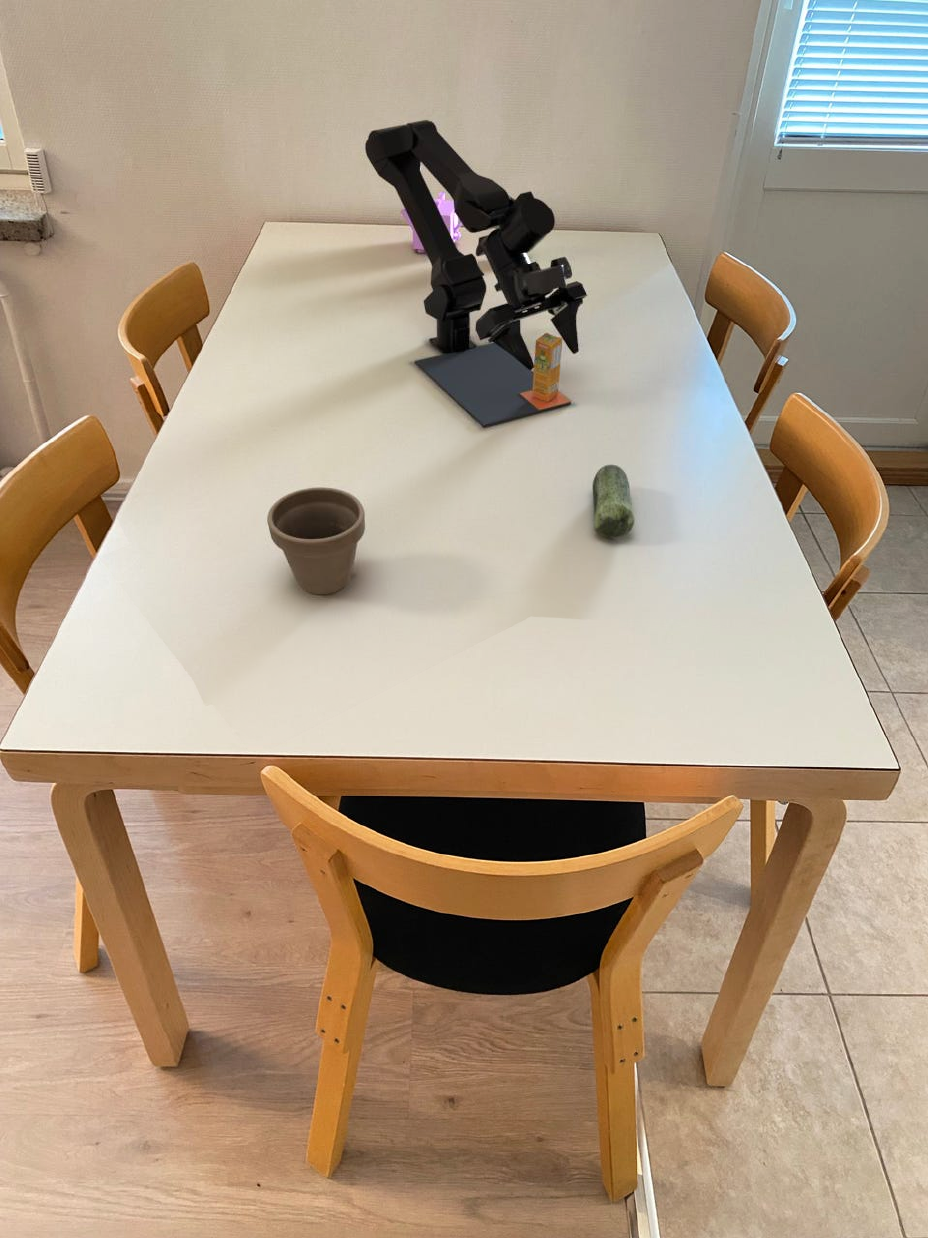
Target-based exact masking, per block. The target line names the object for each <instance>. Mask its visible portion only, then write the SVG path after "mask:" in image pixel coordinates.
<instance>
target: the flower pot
mask: <svg viewBox="0 0 928 1238" xmlns="http://www.w3.org/2000/svg"><path fill="white" fill-rule="evenodd" d="M365 514H366V512H365V509H364V506H363V504H362V503H361V501H360V500H359V499H358V498H357V497H356V496H355V495H353V494H351V493H350V492H348V491H345V490H342V489H338V488H334V487H323V486H321V487H307V488H304V489H299V490H296V491H293V492H290V493H287V494H286V495H284V496H283V497H281V498H279V499H278V500H277V501H276V502H274V503H273V505H272V506H271V507H270V509H268V512H267V519H266V520H267V521H266V522H267V525H268V531H269V534H270V538H271V540H272V542H273V544H274V545H276V546H277V547H278V548H279V549H280V550H282V552H283V554H284V557H285V559H286V561H287V563H288V565H289V568H290V570H291V572H292V575H293V576H294V578H295V580H296V582H297V584H298V586H299V587H300V588H301V589H303V590H304V591H306V592H308V593H310V594H315V595H328V594H329V595H330V594H333V593H337V592H338V591H340V590H342V589H344V587H346V586H347V585H348V583H349V582H350V580H351V576H352V572H353V568H354V564H355V559H356V553H357V549H358V543H359V541H361V539H362V538H363V536H364V534H365V531H366V519H365V517H366V515H365Z"/></svg>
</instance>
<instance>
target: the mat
mask: <svg viewBox="0 0 928 1238" xmlns="http://www.w3.org/2000/svg"><path fill="white" fill-rule="evenodd" d="M414 365H416V366H417V367H418V369H420V370H421V371H422V372H423V373H424V374H425V375H427V377H428V378H429V379H431V380H432V381H433V382H434V383H435V384H436V385H437V386H438V387H439V388H440V389H441V390H443V392H445V393H446V394H447V395H448V397H450V398H452V400H453V401H454V402H455V403H457V405H459V406H460V407H461V408H462V409H463V411H465V412H466V413H468V415H469V416H470V417H471V418H473V419H474V420H475V421H476V422H477V423H478V424H479V425H480V426H481V427H482V428H487V427H492V426H495V425H499V424H504V423H507V422H511V421H515V420H519V419H522V418H526V417H529V416H533V415H536V414H537V415H538V414H540V413H544V412H548V411H552V410H556V409H559V408H564V407H567V406H570V405H571V404H572V400H570V399H569V398H567V396H565V395H564V394H563V393H561V392H560V390H558V395H557V396H556V397H555V398H553V399H552V400H551V401H549V402H545V401H542V400H539V399H537V398H534V397H532V392H533V376H534V370H528V369H527V368H526V367H525V366H524V365H523V364H521V363H520V362H519V361H518V360H517V359H515V358H514V357H513V356H512V355H511V354H509V353H508V352H507V351H505V350H504V349H502V348H501V347H499V346H498V345H497V344H495V343H494V342H492V343H487V344H483V345H477V347H476V348H471V349H468V350H464V351H459V352H454V353H450V354H442V353H441V354H438V355H434V356H429V357H426V358H421V359H416V360H414Z"/></svg>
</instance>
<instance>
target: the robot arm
mask: <svg viewBox="0 0 928 1238" xmlns="http://www.w3.org/2000/svg"><path fill="white" fill-rule="evenodd" d="M364 145H365V147H364V150H365V154H366V157H367V159H368V160H369V162H370V164H371V165H372V167H373V169H374V170H375V172H376V174H377V175H378V177H379V178H381V179H382V180H384V181H385V182H387V183H388V184H389V185H390V186H392V187H393V188H394V189H395V192H396V193H397V195H398V198H399V199H400V202H401V204H402V206H403V209H405V210H406V212H407V214H408V216H409V218H410V220H411V223H412V225H413V227H414V229H415V231H416V233H417V235H418V237H419V239H420V241H421V243H422V246H423V248H424V250H425V253H426V256H427V258H428V260H429V263H430V265H431V273H430V286H431V287H430V288H431V289H432V291H431V292H430V293H429V295H427V296H426V297H425V298H424V299H423V306H424V311H425V314H426V315H428V316H430V317H432V318H433V319H435V320H436V336H435V337H430V338H428V343H429V344H430V345H431V346H433V347H434V348H435V349H436V350H437V351H439V352H440V353H441V355H442V354H450V353H454V352H459V351H464V350H468V349H471V348H476V347H477V346H478V345H477V344H476V343H475V342H474V341H472V340H471V313H473V312H477V311H481V309H482V306H483V303H484V300H485V296H486V294H487V282H486V280H485V278H484V276H485V272H484V271H482V269H481V268H480V266H479V263H478V260H477V258H476V257H481V256H485V257H486V259H487V261H488V263H489V265H490V268H491V270H492V272H493V275H494V277H495V279H496V281H497V283H496V284H494V285H493V287H494V289H495V292H496V293H498V292H502V295H503V296H504V298H505V301H506V303H503V304H500V305H497V306H493V307H490V308H488V309H487V310H486V311H485V312H484V313H483V314H482V315H481V316H480V317H479V318H478V319H477V320H476V321H475V332H476V334H477V337H478V338H479V339H478V340H480V341H483V340H485V339H487V341H488V344H490V343H495V344H497V345H498V346H499V347H501V348H502V349H504V350H505V351H507V352H508V353H509V354H511V355H512V356H513V357H514V358H515V359H517V360H518V361H519V362H520V363H521V364H523V365H524V366H525V367H526V368H527V369H528V370H531V371H533V370H534V360H533V358H532V356H531V353H530V351H529V349H528V346H527V345H526V342H525V340H524V338H523V335H522V333H521V331H522V330H521V320H523V319H526V318H529V317H532V316H535V315H538V314H541V313H545V312H548V314H550V315H552V316H553V317H551V318H550V322H551V323H552V325H553V326H554V328H555V330H556V331H557V332H558V334H559V336H560V338H562V341H563V342H564V344H565V345H566V346H567V348H568V349H569V350H570V352H571V353H572V354H573V355H576V354H578V353H579V351H580V350H579V338H578V337H579V336H578V327H577V315H578V311H579V307H581V305H583V304H584V299H585V298H586V297H588V293H587V291H586V288H585V286H584V285H583V283H581V282H579V281H577V280H576V281H573V282H569V283H567V280H568V279H571V278H572V276H573V271H572V266H571V264H570V262H569V261H568V258H567V256H562V257H561V256H560V257H558V258H554V259H551V261H550V266H549V267H545V268H541V267H540V264H539V263H538V262H537V261H532V262H531V260H530V259H529V257H528V256H529V255H527V254H528V253H530V252H531V251H532V250H533V249H535V248H536V247H537V246H538V245H539V244H540V243H541V242H542V241H543V240H545V238H546V237H547V236H548V235H549V234H550V233H551V232H552V231H553V230H554V227H555V224H556V223H555V222H556V219H555V214H554V212H553V210H552V208H551V207H549V206H548V205H547V203H545V202H544V201H543V200H541V199H539V198H536V197H535V196H534V194H533V192H532V191H530V190H529V191H525V192H521V193H519V195H518V196H517V197H516V198H514V197H512V196H510V195H509V193H508V192H507V190H506V189H504V187H502V186H501V185H500V184H499V183H497V182H496V181H494V180H493V179H492V178H489V177H487V176H483V175H480V174H478V173H476V172H475V171H474V170H473V169H472V168H471V166H469V165H468V164H467V162H466V161H465V160H464V158H462V157H461V156H460V155H459V154H458V152H456V150H455V149H454V148H453V146H451V144H449V142H447V140H445V138H444V137H443V136H442V135H441V134H440V132H438V129H437V126H436V124H435V123H434V122H433V121H432V120H429V119H423V120H418V121H417V120H416V121H412V122H407V123H406V124H399V125H395V126H389V127H384V128H379V129H374V130H371V131H370V132H369V134H368V136H367V140H366V141H365V144H364ZM422 165H423V166H424V167H425V168H426V170H427V171H429V173H430V174H431V175H432V176H433V178H435V180H436V181H437V182H438V183H439V184H440V185H441V186H442V187H443V189H444V190H445V191H446V193H448V194H449V195H450V197H451V199H452V201H454V212H455V213H456V215H457V216H458V220H459V221H461V222H462V225H463V227H464V228H465V229H466V230H467V232H469V233H470V234H477V233H480V232H484V231H487V230H491V229H493V230H492V231H490V232H489V234H486V235H482V236H479V237H478V243H477V246H476V249H475V255H474V254H473V253H469V254H468V253H467V254H464V253H462V252H461V251H460V250H459V249H458V247H457V244H456V242H454V241H453V239H452V237H451V235H450V233H449V230H448V228H447V226H446V224H445V222H444V220H443V218H442V216H441V214H440V212H439V209H438V207H437V205H436V203H435V201H434V199H435V198H434V197H433V195H432V193H431V190H430V188H429V187H428V184H427V183H426V180H425V178H424V176H423V173H422ZM515 199H516V200H515ZM499 226H500V228H499V229H495V228H496V227H499ZM526 253H527V254H526ZM555 289H556V290H555ZM547 295H549V296H547ZM546 296H547V297H546Z"/></svg>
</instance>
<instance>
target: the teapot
mask: <svg viewBox="0 0 928 1238" xmlns="http://www.w3.org/2000/svg"><path fill="white" fill-rule="evenodd" d="M445 196H446V192H445V191H440V192H439V194H438V197H437V198H433V199H434V201H435V203H436V205H437V207H438V209H439V212H440V214H441V216H442V218H443V220H444V222H445V224H446V226H447V228H448V230H449V233H450V235H451V237H452V239H453V241H454V243H456V241H457V240H459V239H460V238H461V233H460V231H459V229H460V227H461V226H462V225H463V224H462V222H461V221H460V220H459V218H458V216H457V215H456V213H455V212H454V200H449V199H445ZM400 214H401V215H402V217H403V218H404V219H405V221H406V222H407V224H408V225H409V227H410V228H411V230H412V249H415V250H417V253H421V254H425V253H426V252H425V250H424V248H423V246H422V243H421V241H420V239H419V237H418V235H417V233H416V231H415V229H414V227H413V225H412V223H411V220H410V218H409V216H408V214H407V212H406V210H405V208H403V209H400Z"/></svg>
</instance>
